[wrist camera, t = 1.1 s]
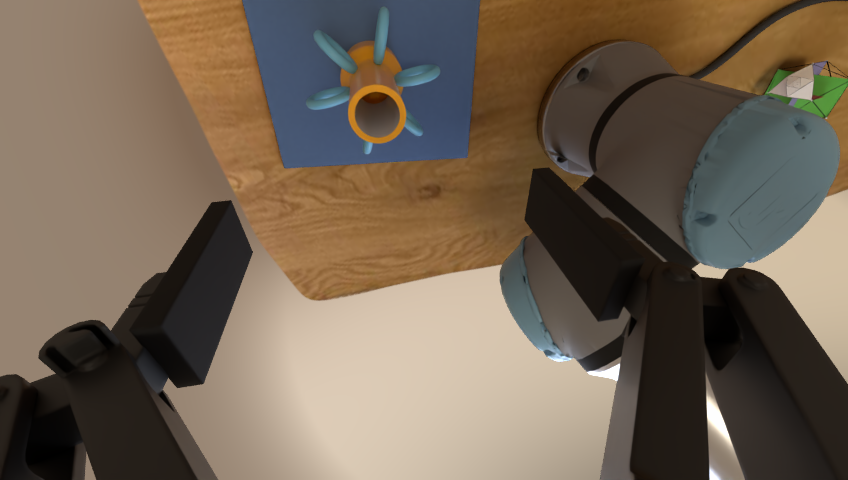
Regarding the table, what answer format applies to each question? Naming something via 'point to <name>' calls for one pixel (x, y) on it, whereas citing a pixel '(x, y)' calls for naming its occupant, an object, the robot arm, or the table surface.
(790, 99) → the geometric puzzle
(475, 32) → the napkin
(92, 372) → the robot arm
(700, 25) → the table surface
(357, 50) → the cylinder
